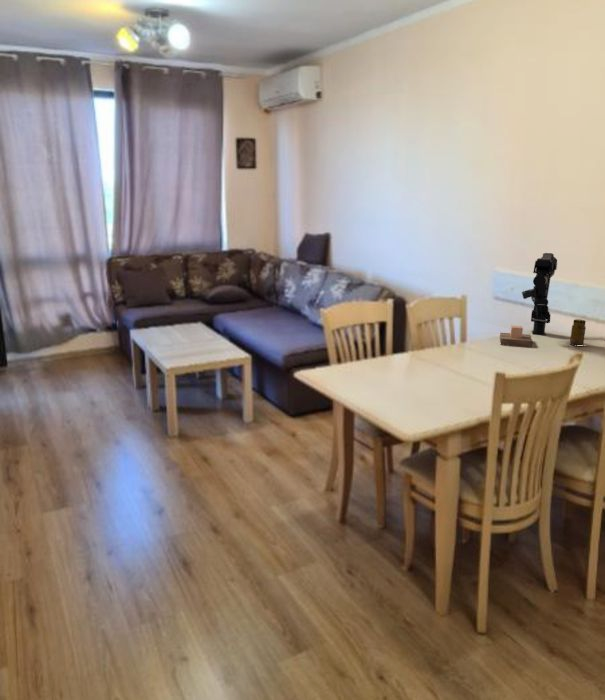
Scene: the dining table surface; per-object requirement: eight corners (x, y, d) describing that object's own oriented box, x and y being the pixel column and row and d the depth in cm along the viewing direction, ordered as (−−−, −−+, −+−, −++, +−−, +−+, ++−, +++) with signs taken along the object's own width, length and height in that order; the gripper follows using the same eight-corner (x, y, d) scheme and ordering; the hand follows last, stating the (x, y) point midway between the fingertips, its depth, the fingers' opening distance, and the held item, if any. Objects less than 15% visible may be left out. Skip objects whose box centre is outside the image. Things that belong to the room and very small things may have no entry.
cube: (510, 335, 296) (511, 325, 295) (521, 336, 295) (522, 326, 294) (510, 337, 291) (511, 327, 290) (521, 338, 290) (522, 328, 289)
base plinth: (499, 338, 302) (500, 332, 301) (529, 340, 299) (529, 334, 298) (500, 344, 289) (501, 338, 288) (531, 347, 286) (532, 341, 285)
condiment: (578, 342, 297) (581, 318, 294) (589, 346, 289) (593, 322, 286) (565, 343, 295) (568, 319, 292) (576, 347, 287) (579, 322, 284)
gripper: (522, 281, 305) (519, 311, 309) (525, 286, 288) (521, 318, 292) (545, 282, 302) (542, 312, 306) (550, 287, 285) (546, 319, 289)
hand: (537, 315), depth 298 cm, fingers open, 9 cm apart
